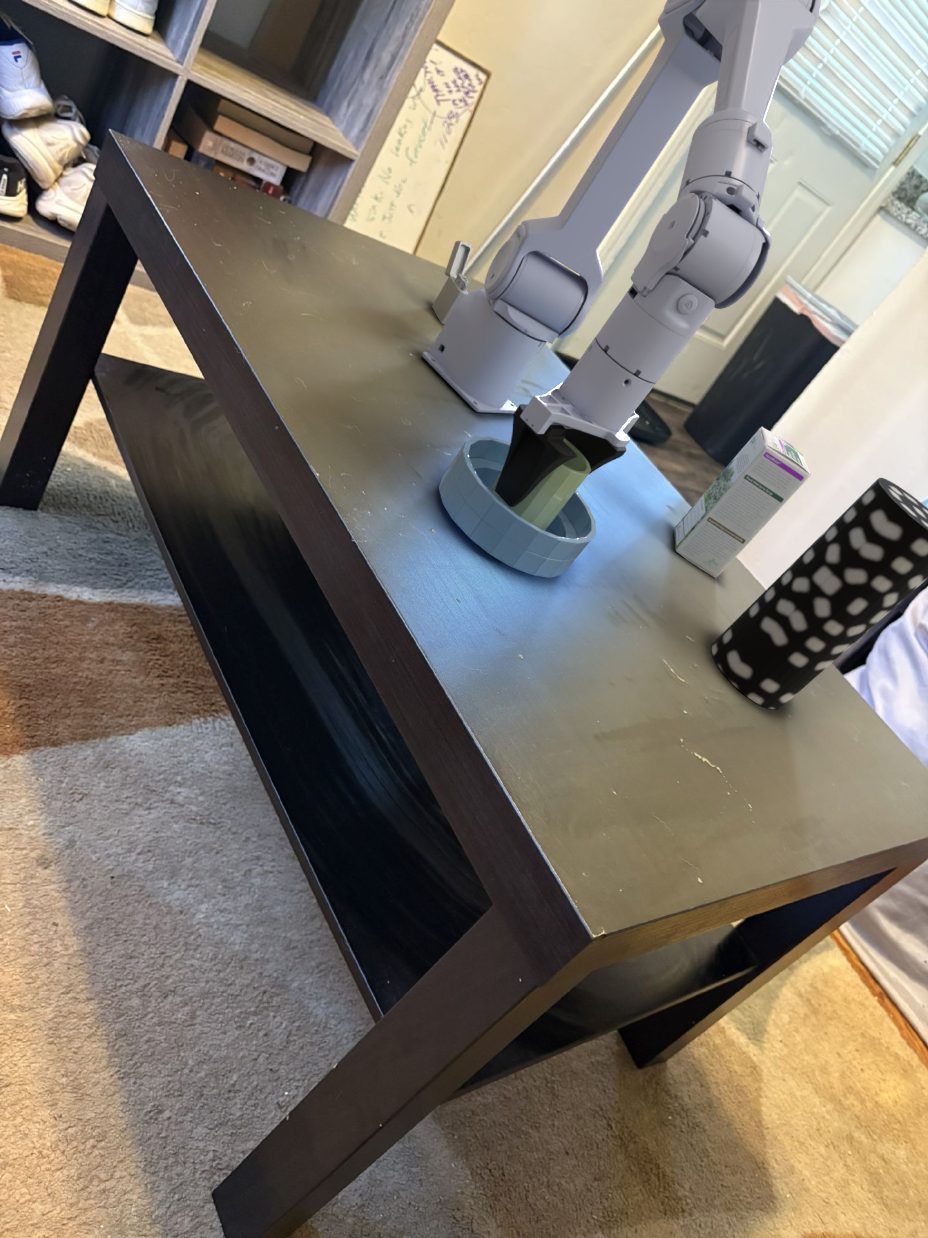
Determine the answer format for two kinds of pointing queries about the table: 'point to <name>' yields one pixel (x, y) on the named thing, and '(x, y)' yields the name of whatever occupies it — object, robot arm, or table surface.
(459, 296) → the lighter
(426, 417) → the table surface
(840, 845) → the table surface
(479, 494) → the bowl
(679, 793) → the table surface
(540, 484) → the cup
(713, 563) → the syrup box
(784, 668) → the spotted tube
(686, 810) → the table surface
